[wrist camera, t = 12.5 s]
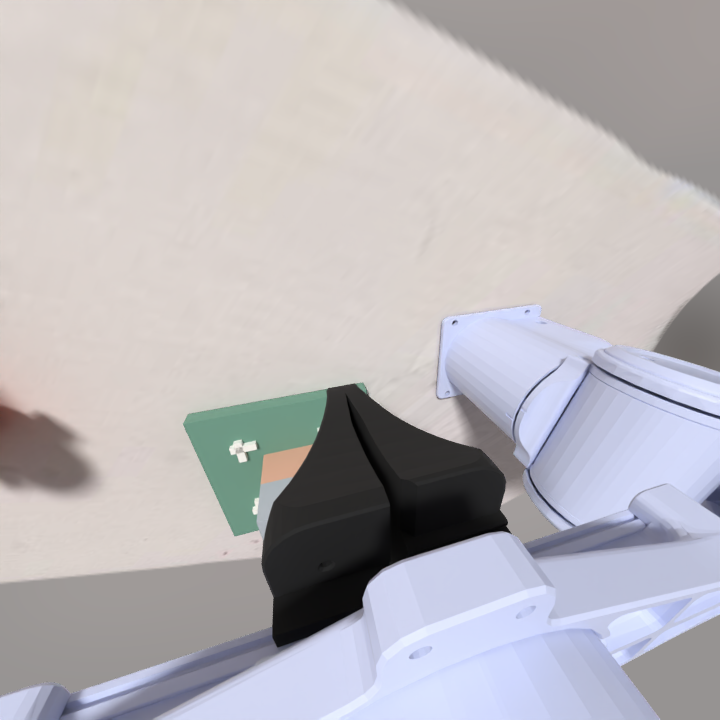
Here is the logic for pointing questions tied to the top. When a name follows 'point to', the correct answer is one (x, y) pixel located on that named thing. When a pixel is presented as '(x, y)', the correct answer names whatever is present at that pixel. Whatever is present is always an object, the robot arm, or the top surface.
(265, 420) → the base plate
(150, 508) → the top surface
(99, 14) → the top surface
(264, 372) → the top surface
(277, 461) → the brick stack
